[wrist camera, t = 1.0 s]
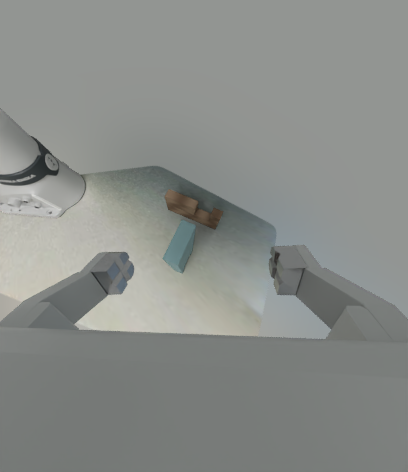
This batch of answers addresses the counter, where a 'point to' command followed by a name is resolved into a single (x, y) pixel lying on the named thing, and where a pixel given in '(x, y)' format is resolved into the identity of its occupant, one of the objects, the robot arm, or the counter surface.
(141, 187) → the counter surface
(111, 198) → the counter surface
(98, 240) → the counter surface
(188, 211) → the notched walnut block
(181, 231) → the teal plate
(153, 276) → the counter surface
